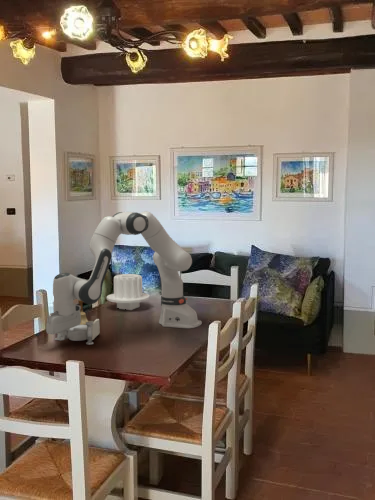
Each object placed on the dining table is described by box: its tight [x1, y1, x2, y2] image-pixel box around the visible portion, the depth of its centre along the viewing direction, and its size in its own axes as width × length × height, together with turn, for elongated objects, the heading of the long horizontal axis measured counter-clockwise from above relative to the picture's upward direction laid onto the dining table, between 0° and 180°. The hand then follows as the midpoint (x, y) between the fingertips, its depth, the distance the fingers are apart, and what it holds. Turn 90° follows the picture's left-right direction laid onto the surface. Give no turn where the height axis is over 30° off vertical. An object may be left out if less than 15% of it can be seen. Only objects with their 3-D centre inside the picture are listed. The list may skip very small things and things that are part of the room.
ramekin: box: [67, 325, 87, 342], centre depth 257 cm, size 11×11×5 cm
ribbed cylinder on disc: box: [106, 273, 151, 311], centre depth 320 cm, size 25×25×19 cm
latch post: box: [53, 333, 62, 341], centre depth 255 cm, size 5×4×8 cm
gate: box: [86, 318, 100, 341], centre depth 253 cm, size 16×3×9 cm, turn 174°
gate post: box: [85, 325, 94, 346], centre depth 248 cm, size 3×3×8 cm
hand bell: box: [77, 299, 90, 325], centre depth 283 cm, size 8×8×16 cm
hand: (64, 339), depth 247 cm, fingers closed
